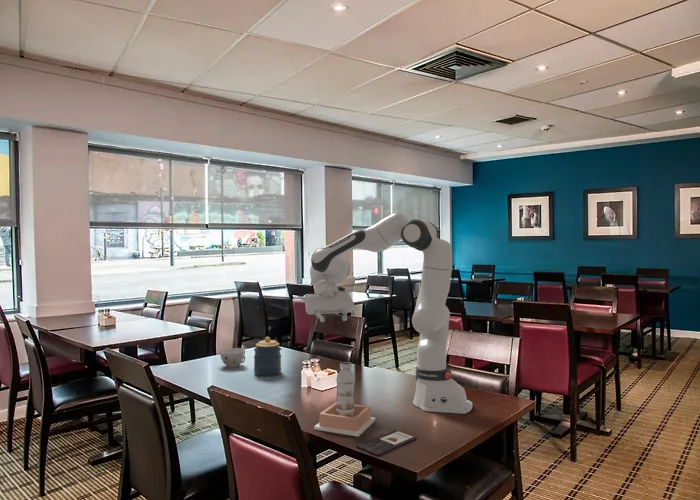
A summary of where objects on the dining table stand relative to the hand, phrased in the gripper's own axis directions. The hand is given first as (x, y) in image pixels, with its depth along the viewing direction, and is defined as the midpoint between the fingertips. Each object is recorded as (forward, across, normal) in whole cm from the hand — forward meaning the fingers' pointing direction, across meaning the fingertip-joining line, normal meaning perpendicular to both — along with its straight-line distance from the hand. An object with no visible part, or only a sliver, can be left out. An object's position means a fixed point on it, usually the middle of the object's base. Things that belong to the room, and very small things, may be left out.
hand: (334, 320), depth 196 cm
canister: (-12, -16, +56) cm, 60 cm away
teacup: (-26, -29, +70) cm, 80 cm away
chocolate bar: (+56, 0, -11) cm, 58 cm away
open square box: (+42, -6, +2) cm, 43 cm away
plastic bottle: (+42, -6, +2) cm, 42 cm away
